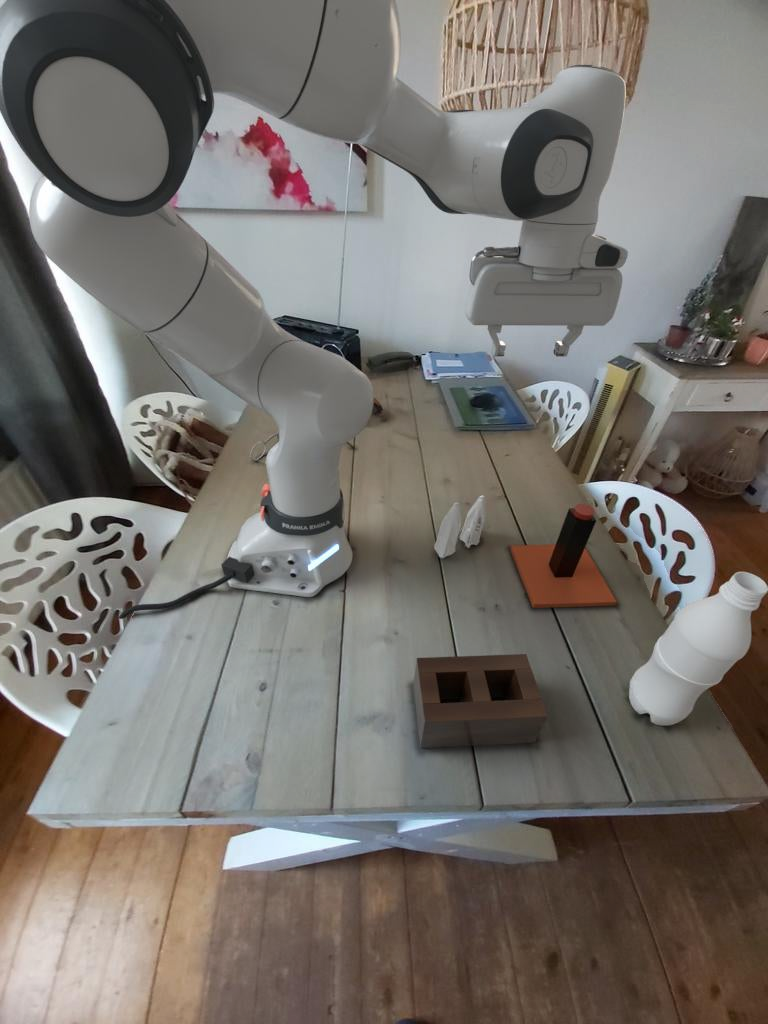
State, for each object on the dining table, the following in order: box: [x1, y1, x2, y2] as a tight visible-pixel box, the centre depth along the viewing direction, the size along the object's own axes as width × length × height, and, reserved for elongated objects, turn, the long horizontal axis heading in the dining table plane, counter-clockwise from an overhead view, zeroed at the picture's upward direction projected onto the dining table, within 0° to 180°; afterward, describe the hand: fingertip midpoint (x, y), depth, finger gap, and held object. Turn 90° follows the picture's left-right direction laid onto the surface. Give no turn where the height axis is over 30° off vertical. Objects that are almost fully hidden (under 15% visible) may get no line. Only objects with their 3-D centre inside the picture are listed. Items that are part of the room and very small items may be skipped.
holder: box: [412, 653, 549, 749], centre depth 57 cm, size 8×15×7 cm, turn 93°
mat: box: [509, 544, 618, 609], centre depth 78 cm, size 14×14×1 cm
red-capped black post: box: [549, 503, 597, 578], centre depth 74 cm, size 3×3×14 cm
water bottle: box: [628, 571, 768, 726], centre depth 52 cm, size 7×7×25 cm
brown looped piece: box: [372, 397, 385, 422], centre depth 122 cm, size 12×10×8 cm
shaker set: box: [433, 495, 487, 559], centre depth 80 cm, size 12×4×11 cm, turn 126°
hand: (528, 355), depth 65 cm, fingers open, 8 cm apart
